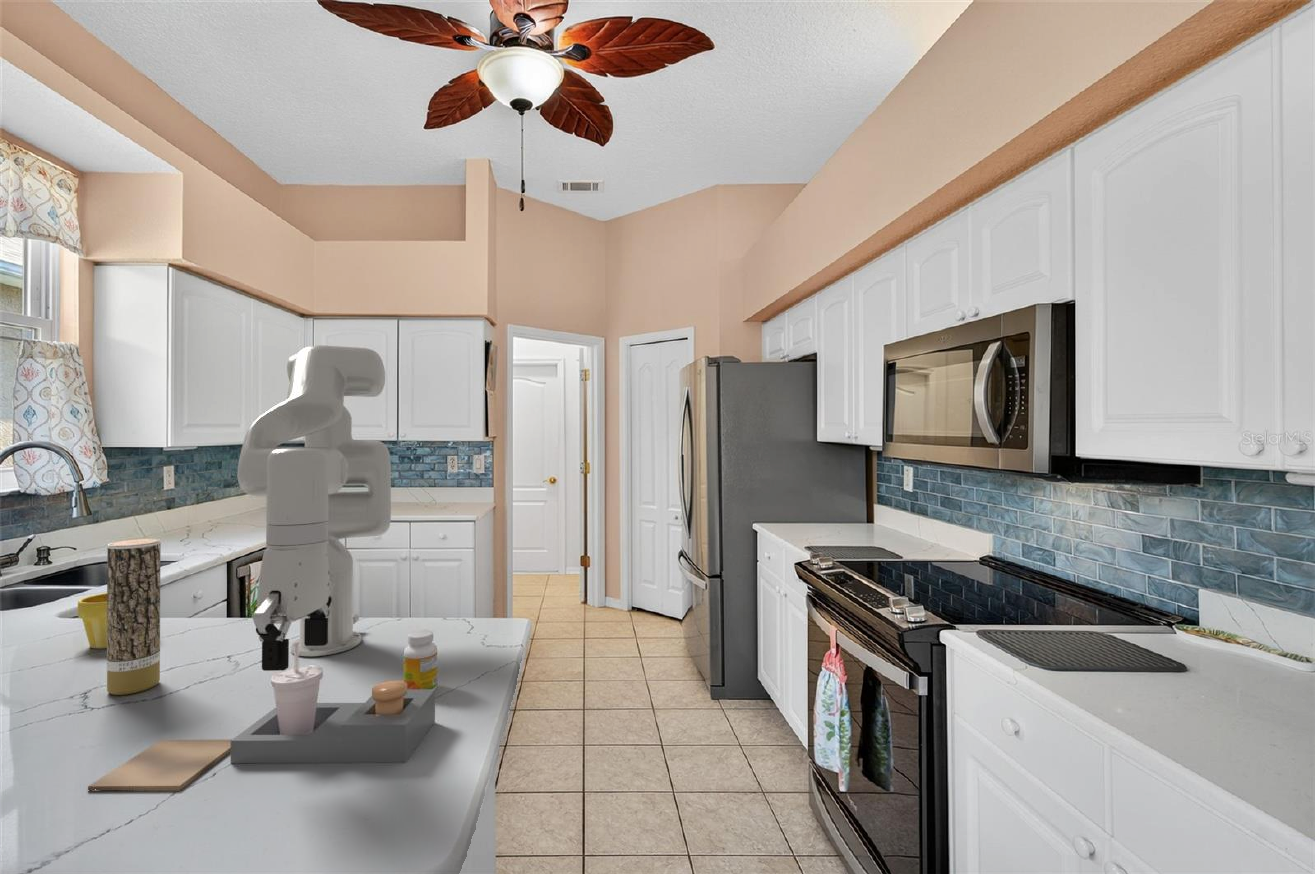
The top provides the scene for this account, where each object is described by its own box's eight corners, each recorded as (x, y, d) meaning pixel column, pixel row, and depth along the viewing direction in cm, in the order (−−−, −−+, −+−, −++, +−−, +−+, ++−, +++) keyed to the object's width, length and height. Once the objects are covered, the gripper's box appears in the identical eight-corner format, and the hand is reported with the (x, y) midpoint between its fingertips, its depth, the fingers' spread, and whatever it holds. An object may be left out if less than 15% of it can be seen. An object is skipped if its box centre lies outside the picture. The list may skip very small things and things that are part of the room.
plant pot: (137, 631, 130) (137, 587, 130) (152, 641, 124) (152, 594, 124) (72, 644, 121) (72, 597, 121) (84, 656, 115) (84, 606, 115)
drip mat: (161, 743, 83) (161, 739, 83) (241, 743, 83) (241, 739, 83) (87, 791, 72) (87, 786, 72) (179, 790, 72) (179, 785, 72)
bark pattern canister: (170, 679, 104) (170, 538, 104) (137, 696, 98) (138, 545, 98) (130, 679, 104) (131, 538, 104) (95, 697, 97) (95, 545, 97)
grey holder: (281, 722, 89) (281, 689, 89) (434, 722, 90) (435, 689, 90) (230, 763, 78) (230, 725, 78) (405, 762, 79) (405, 724, 79)
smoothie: (315, 725, 88) (316, 632, 88) (328, 741, 84) (329, 643, 84) (265, 741, 84) (265, 642, 84) (276, 758, 79) (276, 655, 79)
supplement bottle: (397, 690, 101) (398, 633, 101) (428, 680, 105) (428, 626, 105) (411, 699, 97) (412, 640, 97) (442, 689, 101) (443, 633, 101)
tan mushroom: (380, 728, 86) (380, 680, 86) (412, 728, 87) (412, 680, 86) (365, 744, 82) (365, 694, 82) (398, 744, 82) (399, 694, 82)
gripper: (306, 527, 92) (305, 637, 92) (228, 545, 75) (226, 681, 75) (354, 527, 92) (353, 636, 92) (287, 545, 75) (286, 680, 75)
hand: (296, 656), depth 83 cm, fingers open, 9 cm apart
